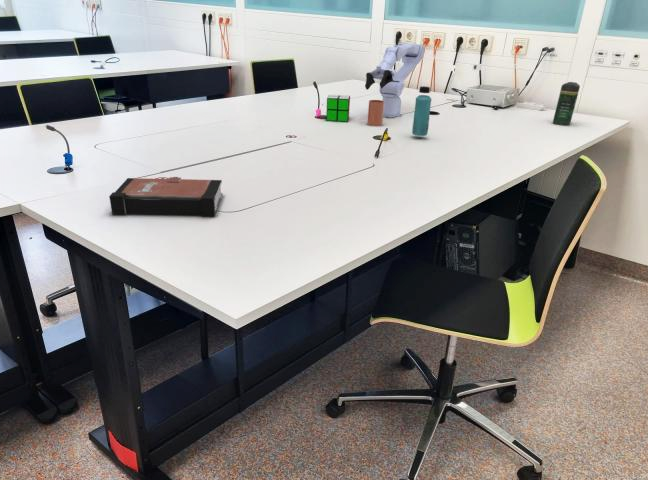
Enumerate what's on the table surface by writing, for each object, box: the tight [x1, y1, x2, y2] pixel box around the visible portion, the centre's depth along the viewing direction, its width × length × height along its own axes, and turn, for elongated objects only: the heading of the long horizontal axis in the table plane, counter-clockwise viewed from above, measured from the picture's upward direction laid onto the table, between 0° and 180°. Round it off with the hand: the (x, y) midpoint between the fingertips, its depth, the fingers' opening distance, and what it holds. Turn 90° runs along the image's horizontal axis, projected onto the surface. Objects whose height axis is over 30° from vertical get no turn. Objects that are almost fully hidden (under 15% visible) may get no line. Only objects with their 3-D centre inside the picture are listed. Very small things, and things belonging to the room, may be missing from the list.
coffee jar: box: [552, 81, 581, 126], centre depth 256 cm, size 10×8×19 cm
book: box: [108, 176, 224, 218], centre depth 146 cm, size 26×18×5 cm
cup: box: [366, 99, 384, 127], centre depth 243 cm, size 7×7×10 cm
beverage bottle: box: [411, 85, 432, 137], centre depth 220 cm, size 6×7×20 cm
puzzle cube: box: [325, 94, 351, 123], centre depth 250 cm, size 10×10×10 cm
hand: (373, 87), depth 240 cm, fingers open, 7 cm apart
